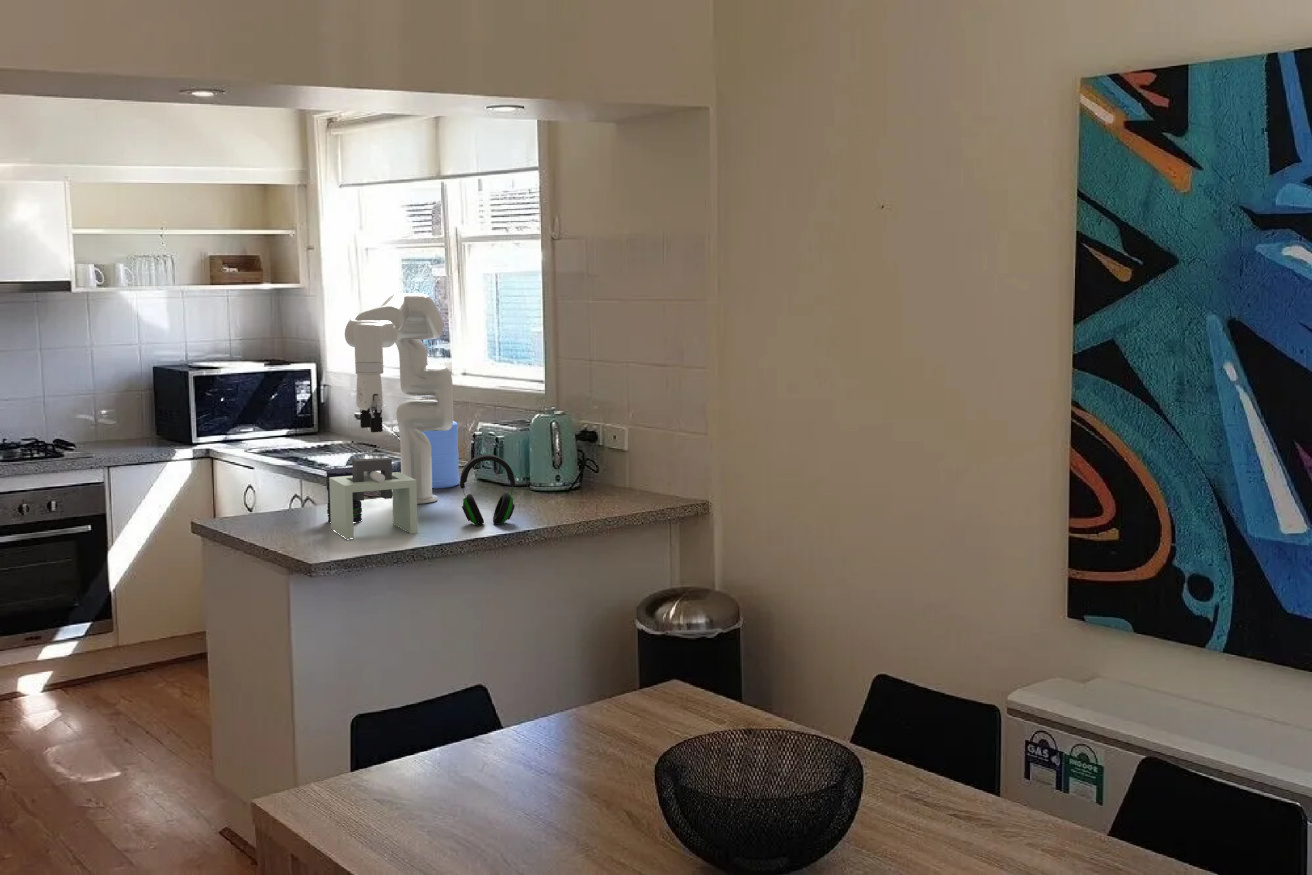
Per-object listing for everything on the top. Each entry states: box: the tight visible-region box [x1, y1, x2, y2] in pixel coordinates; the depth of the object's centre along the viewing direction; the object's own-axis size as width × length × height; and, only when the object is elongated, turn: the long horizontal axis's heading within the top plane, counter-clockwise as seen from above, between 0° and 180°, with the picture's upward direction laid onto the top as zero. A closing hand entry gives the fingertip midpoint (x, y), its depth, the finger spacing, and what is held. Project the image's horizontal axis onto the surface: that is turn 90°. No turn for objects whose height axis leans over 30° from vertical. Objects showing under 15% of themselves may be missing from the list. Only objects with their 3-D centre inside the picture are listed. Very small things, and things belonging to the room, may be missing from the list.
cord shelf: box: [329, 471, 419, 539], centre depth 390 cm, size 16×20×17 cm
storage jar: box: [325, 467, 363, 523], centre depth 405 cm, size 10×10×15 cm
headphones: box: [459, 453, 516, 526], centre depth 400 cm, size 9×16×20 cm, turn 102°
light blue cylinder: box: [423, 420, 460, 489], centre depth 467 cm, size 16×16×28 cm
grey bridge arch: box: [351, 457, 393, 502], centre depth 389 cm, size 4×10×11 cm, turn 118°
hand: (371, 429), depth 388 cm, fingers open, 9 cm apart
